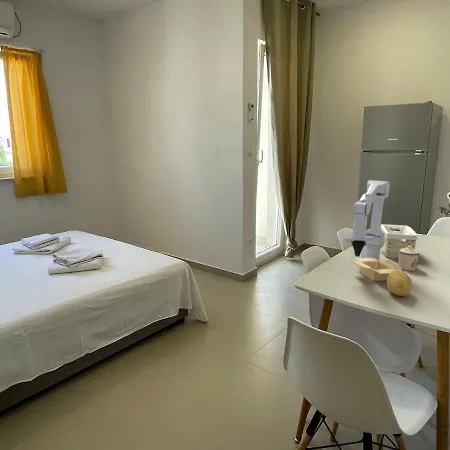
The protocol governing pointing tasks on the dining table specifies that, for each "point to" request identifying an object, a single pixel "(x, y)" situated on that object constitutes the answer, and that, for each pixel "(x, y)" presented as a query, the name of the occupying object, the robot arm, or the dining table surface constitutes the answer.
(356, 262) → the flap
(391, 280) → the potato
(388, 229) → the storage basket
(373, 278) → the carton
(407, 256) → the teacup with lid
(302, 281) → the dining table surface
